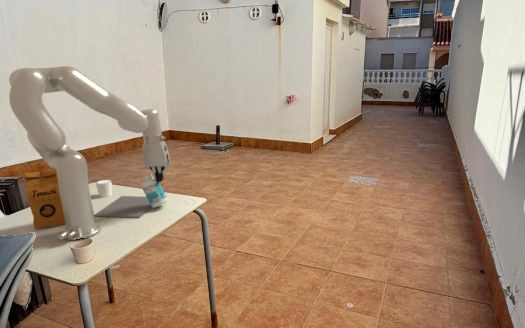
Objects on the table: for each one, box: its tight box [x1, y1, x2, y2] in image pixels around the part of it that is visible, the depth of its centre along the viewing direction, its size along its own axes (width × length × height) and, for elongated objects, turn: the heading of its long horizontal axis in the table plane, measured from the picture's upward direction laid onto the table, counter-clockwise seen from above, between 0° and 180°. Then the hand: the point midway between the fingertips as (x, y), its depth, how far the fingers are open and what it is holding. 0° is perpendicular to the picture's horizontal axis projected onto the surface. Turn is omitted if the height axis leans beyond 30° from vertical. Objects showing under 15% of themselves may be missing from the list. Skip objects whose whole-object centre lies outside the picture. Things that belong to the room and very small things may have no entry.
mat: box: [94, 195, 153, 219], centre depth 151 cm, size 22×20×1 cm
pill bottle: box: [141, 173, 169, 209], centre depth 148 cm, size 8×7×14 cm
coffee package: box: [23, 169, 66, 230], centre depth 133 cm, size 10×12×22 cm
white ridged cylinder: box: [95, 179, 113, 198], centre depth 165 cm, size 7×7×7 cm
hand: (160, 180), depth 147 cm, fingers closed
